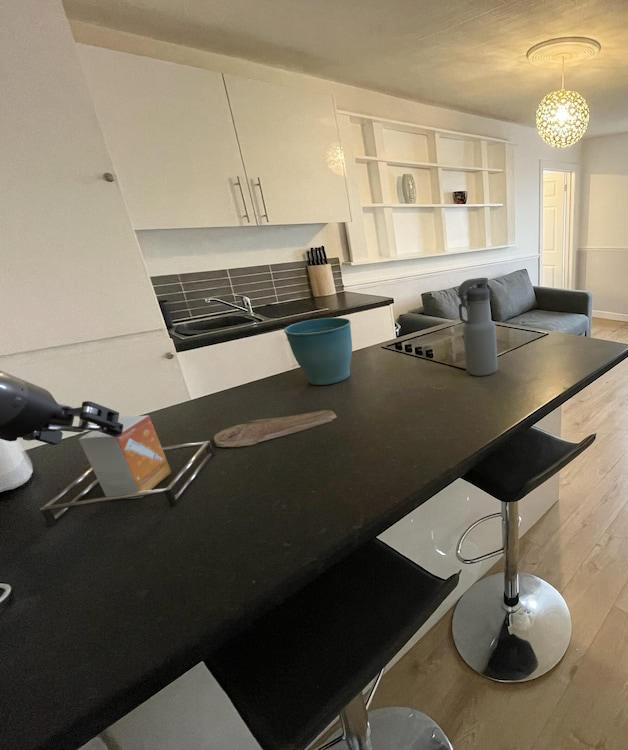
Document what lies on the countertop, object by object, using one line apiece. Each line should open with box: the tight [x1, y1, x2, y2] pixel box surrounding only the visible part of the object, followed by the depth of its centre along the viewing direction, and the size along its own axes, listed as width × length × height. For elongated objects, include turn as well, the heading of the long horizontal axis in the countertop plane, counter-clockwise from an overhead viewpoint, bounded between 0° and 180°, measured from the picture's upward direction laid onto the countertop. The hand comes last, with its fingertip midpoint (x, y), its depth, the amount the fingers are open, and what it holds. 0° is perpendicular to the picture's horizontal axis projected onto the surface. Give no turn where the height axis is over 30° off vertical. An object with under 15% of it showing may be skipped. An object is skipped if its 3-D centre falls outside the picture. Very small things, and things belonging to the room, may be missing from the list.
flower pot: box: [283, 317, 353, 386], centre depth 122 cm, size 18×18×17 cm
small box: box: [77, 414, 172, 500], centre depth 75 cm, size 8×6×13 cm
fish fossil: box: [213, 409, 338, 448], centre depth 97 cm, size 26×10×1 cm, turn 123°
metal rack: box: [39, 440, 215, 527], centre depth 77 cm, size 19×17×4 cm
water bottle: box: [457, 277, 499, 377], centre depth 121 cm, size 10×10×28 cm
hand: (89, 434), depth 67 cm, fingers open, 8 cm apart
